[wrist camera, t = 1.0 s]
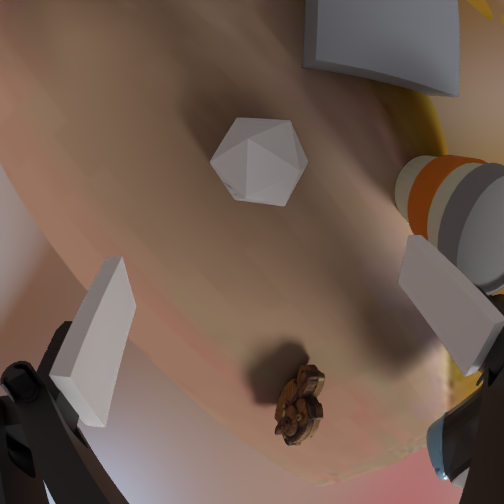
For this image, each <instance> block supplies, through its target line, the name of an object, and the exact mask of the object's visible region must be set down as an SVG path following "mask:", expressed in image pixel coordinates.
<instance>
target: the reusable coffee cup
mask: <svg viewBox="0 0 504 504" xmlns="http://www.w3.org/2000/svg"><path fill="white" fill-rule="evenodd" d="M395 201H396V205H397V208H398V210H399V212H400V213H401V214H402V216H403V217H404V218H405V219H406V220H407V222H408V223H409V225H410V227H411V230H412V232H413V234H414V235H422V236H423V237H424V238H425V239H426V240H427V241H428V242H430V243H431V244H432V245H433V246H434V247H435V248H436V249H437V250H438V251H439V252H441V253H442V254H443V255H444V256H445V257H446V258H447V259H448V260H449V261H450V262H451V263H452V264H453V265H454V266H456V267H457V268H458V269H459V270H460V271H461V272H462V273H463V274H464V275H465V276H466V277H467V278H468V279H469V280H470V281H471V282H472V283H474V284H475V285H477V286H479V287H480V288H481V289H482V290H483V291H484V292H485V293H486V294H487V295H491V294H493V293H495V292H497V291H498V290H500V289H502V288H503V287H504V166H503V165H501V164H497V163H486V162H485V161H483V160H480V159H475V158H468V157H461V156H454V155H444V156H440V157H435V156H427V155H424V156H418V157H416V158H413V159H412V160H410V161H409V162H408V163H407V164H406V165H405V166H404V167H403V169H402V170H401V171H400V173H399V176H398V178H397V181H396V184H395Z"/></svg>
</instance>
